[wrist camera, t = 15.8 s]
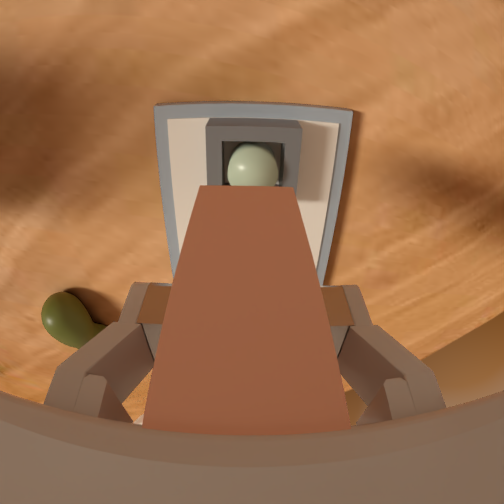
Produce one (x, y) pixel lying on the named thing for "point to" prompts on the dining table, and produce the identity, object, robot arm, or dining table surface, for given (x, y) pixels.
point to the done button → (252, 165)
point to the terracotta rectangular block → (246, 324)
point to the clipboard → (311, 158)
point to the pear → (69, 320)
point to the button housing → (254, 132)
